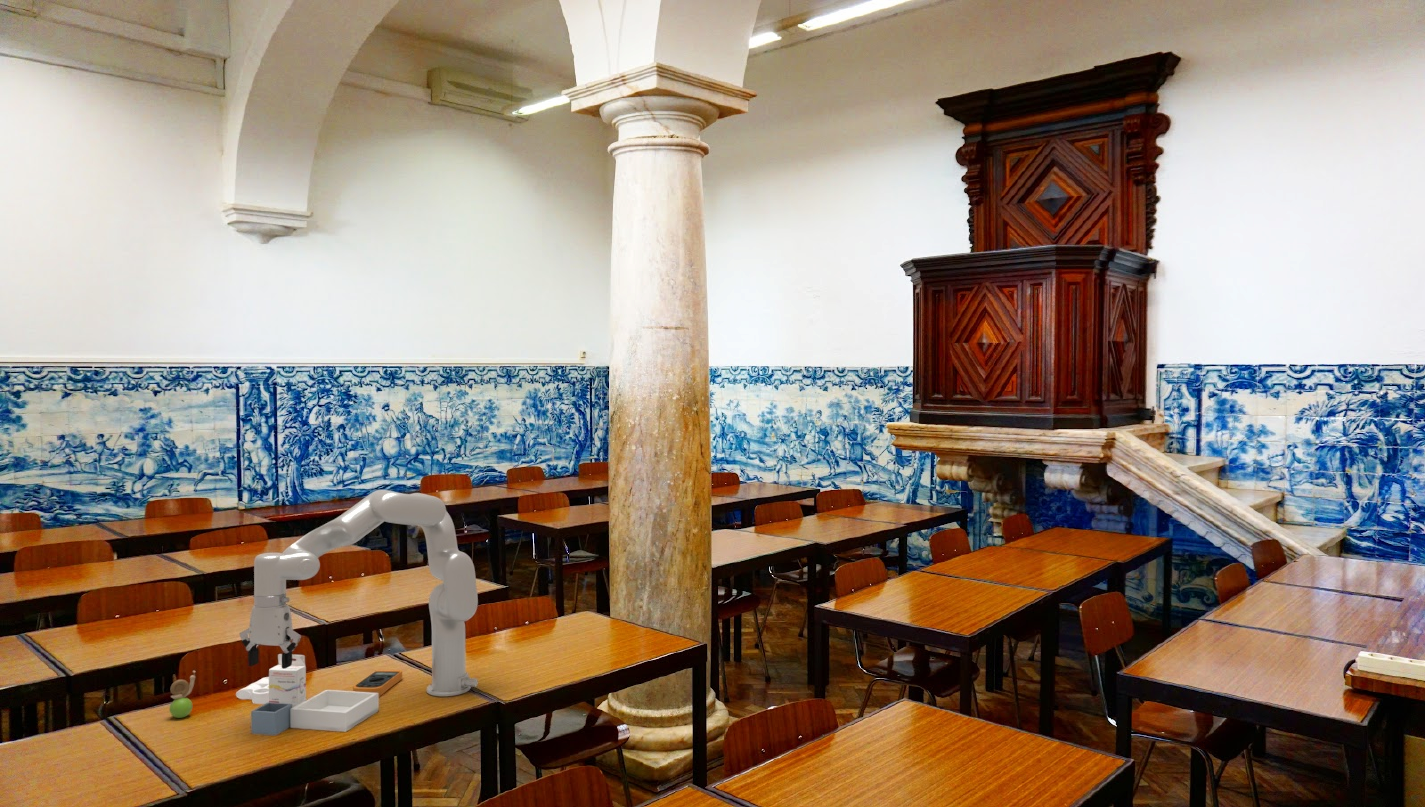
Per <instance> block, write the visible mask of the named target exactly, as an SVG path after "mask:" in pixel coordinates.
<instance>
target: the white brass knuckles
mask: <svg viewBox="0 0 1425 807" xmlns="http://www.w3.org/2000/svg"><path fill="white" fill-rule="evenodd" d="M235 696H236V698H238V699H239V700H251V702H252V703H253V704H254V705H255V704H256V705H264V704H266V703H268V702H269V676H266V677H262V678H261V679H259V680H257V681H255V682H252V683H250V684H248V685H247V686H246V687H243V688H241V689H239V690H238V691H237V690H236V693H235Z"/></svg>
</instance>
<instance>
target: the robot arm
mask: <svg viewBox="0 0 1425 807" xmlns="http://www.w3.org/2000/svg"><path fill="white" fill-rule="evenodd" d="M384 522H386V523H391V524H398V525H405V526H407V525H409V526H418V527H419V526H420V528H422V531H423V533H424V537H425V543H426V550H427V559H428V560H427V562H428V568H429V571H430V572H429V573H430V574H431V576H433V577H434V578H436V579H437V580H439V581H443V582H442V583H439V584H437V585H436V586H435V587H434V588H433V589H432V590H431V592H430V594H429V598H428V609H429V615H430V623H431V675H432V676H431V683H430V684H429V685H427V687H426V693H427V694H429V695H431V696H433V697H453V696H459V695H463V694H465V693H468V692H469V691H470V690H471V687H472V688H477V687H478V684H479V682H478V678H475V677H472V678H471V677H470V674H469V672H466V624H465V622H467V621H469V620H470V619H471V618H472V617H473V616H475V613H476V612H477V609H478V605H479V599H478V597H479V596H478V586H477V579H476V578H477V577H476V571H475V570H476V569H475V565H474V563H473V559H472V558H471V557H470V556H469V555H468V554H467V553H466V552H463V551H460V550H459V548H458V540H457V535H456V529H455V528H456V527H455V525H454V522H453V519H452V517H451V515H450V514H449V513H448V511H447V508H446V504H445V503H444V501H442V499H441V498H439V497H437V496H434V495H429V494H426V493H422V492H421V493H420V492H413V493H409V494H408V493H401V492H395V491H392V490H388V489H377V490H375V491H373V492H371V493H370V494H368V495H366V496H365V497H363V499H361V500H359V502H357V503H356V504H354V505H353V506H352V507H350V508H349V509H347V510H346V511H344V512H343V513H342V514H341V515H339V516H337V517H336V518H334V519H332V520H330V521H327V523H325V524H322V525H320V526H319V527H316V528H315V529H313V530H311V531H309V532H308V533H306V534H305V535H303V536H302V537H301V538H298V539H297V540H296V541H295V542H293V543H291V545H289V546H287V548H285V550H283V552H282V553H281V552H264V553H260V554H258V555H255V558H254V562H253V563H254V564H253V565H254V566H253V567H254V568H253V572H254V573H253V574H254V575H253V578H254V582H253V583H254V584H253V586H254V587H253V588H254V589H253V590H254V591H253V594H254V595H253V598H254V599H253V600H254V601H253V602H254V603H253V604H254V605H253V606H252V608H251V611H250V617H249V625H248V628H247V629H244V630H242V631H241V632H239V638H240V639H241V643H242V645H243V646H244V647H245V651H247V654H248V655H247V659H248V660H247V661H248V667H254V666H256V665H258V664H259V663H260V654H259V653H260V650H259V648H257V647H259V646H260V645H261V646H275V647H276V646H278V647H280V649H281V650H282V652H283V653H281V654H282V668H283V669H285V668H287V667H290V666H291V665H292V661H293V658H292V655H293V651H295V649H296V648H297V647H298V645H299V643H300V641H301V638H302V635H301V634H299V633H298V632H296V631H295V630H294V629H293V619H292V618H293V617H292V613H291V608H290V605H289V604H287V603H289V602H290V597H289V596H287V580H288V581H290V580H291V581H292V580H293V581H296V580H297V581H304V580H308V579H311V578H313V577H315V576H316V575H317V574H318V572H319V570H320V567H321V563H320V560H319V558H320V557H322V556H323V555H325V554H327V553H328V552H330V551H333V550H336V549H338V548H343V547H348V546H350V545H353V544H355V543H357V542H358V541H360V540H362V539H363V538H364V537H365V536H366V535H368V534H369V533H371V532H372V531H373V530H374V529H376V528H377V527H379V526H380V525H381V524H383V523H384Z"/></svg>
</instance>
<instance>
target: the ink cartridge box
mask: <svg viewBox="0 0 1425 807" xmlns="http://www.w3.org/2000/svg"><path fill="white" fill-rule="evenodd" d="M277 660H278V662H277V665H274V666H273V667H271V668H269V670H268V677H269V702H273V703H288V704H292V708H293V707H295V706H297V705H299V704H301V703H302V702H304V701H306V700H307V684H306V683H307V679H306V678H307V675H306V674H307V673H306V672H307V667H306V656H305V655H304V654H292V665H291V666H290V667H287V668H285V669H283V668H282V653H279V654H277Z"/></svg>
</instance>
